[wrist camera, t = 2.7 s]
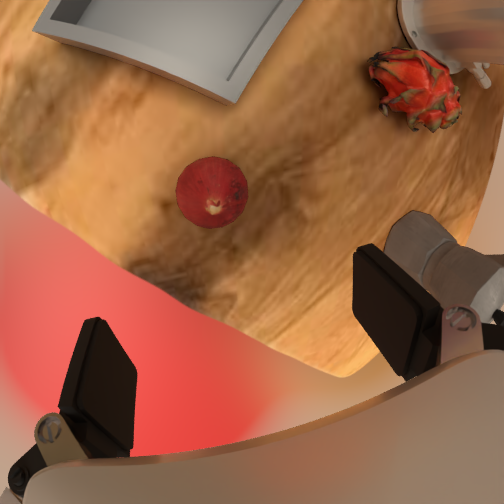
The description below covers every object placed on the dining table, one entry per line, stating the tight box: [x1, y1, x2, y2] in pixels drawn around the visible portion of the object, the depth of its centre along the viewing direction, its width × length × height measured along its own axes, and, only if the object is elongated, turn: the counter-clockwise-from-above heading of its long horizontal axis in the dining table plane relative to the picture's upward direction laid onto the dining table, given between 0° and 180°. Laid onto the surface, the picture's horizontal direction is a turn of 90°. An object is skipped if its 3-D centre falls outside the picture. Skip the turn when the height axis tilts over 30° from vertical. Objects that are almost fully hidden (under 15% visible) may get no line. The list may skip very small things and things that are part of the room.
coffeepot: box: [384, 211, 504, 326], centre depth 27 cm, size 15×9×18 cm, turn 147°
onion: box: [176, 157, 248, 229], centre depth 23 cm, size 6×6×8 cm
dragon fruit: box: [367, 47, 462, 133], centre depth 22 cm, size 8×8×12 cm
